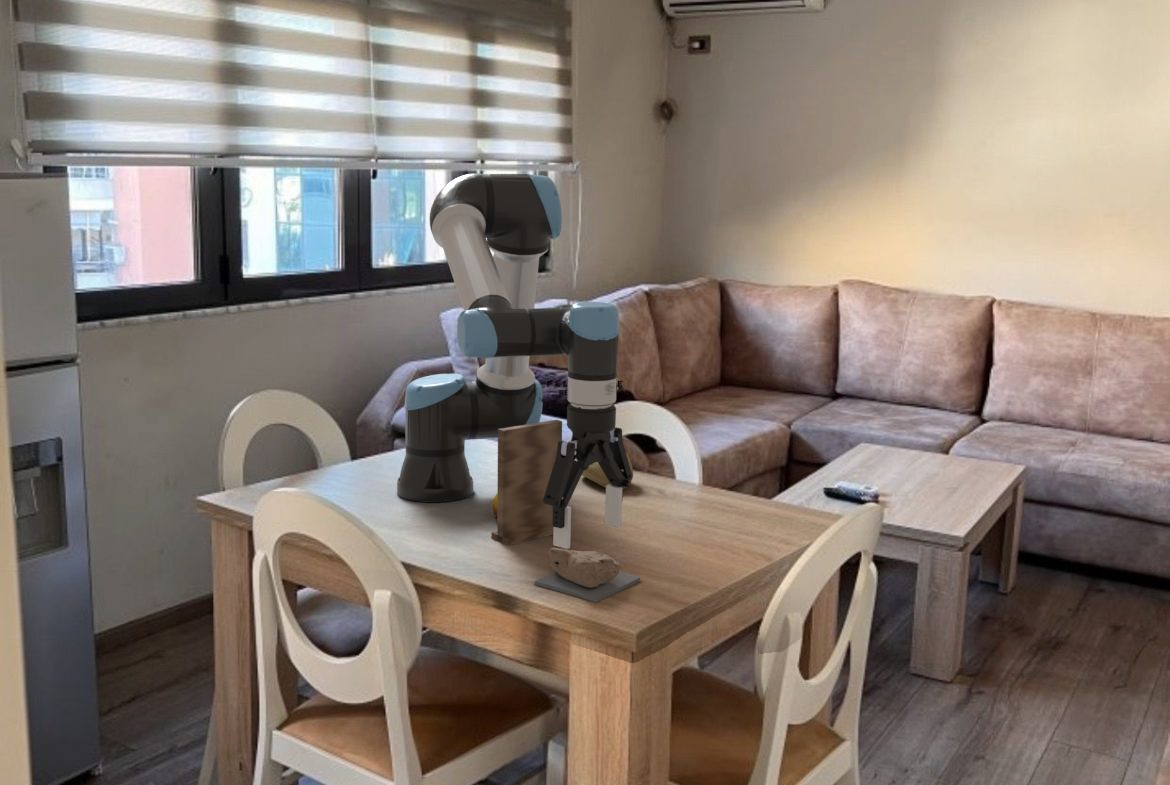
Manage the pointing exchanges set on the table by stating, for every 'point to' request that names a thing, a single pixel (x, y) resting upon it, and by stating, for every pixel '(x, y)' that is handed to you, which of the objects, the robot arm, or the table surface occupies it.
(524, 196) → the robot arm
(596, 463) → the bread roll
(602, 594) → the pad
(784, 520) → the table surface
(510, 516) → the board
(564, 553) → the stone
